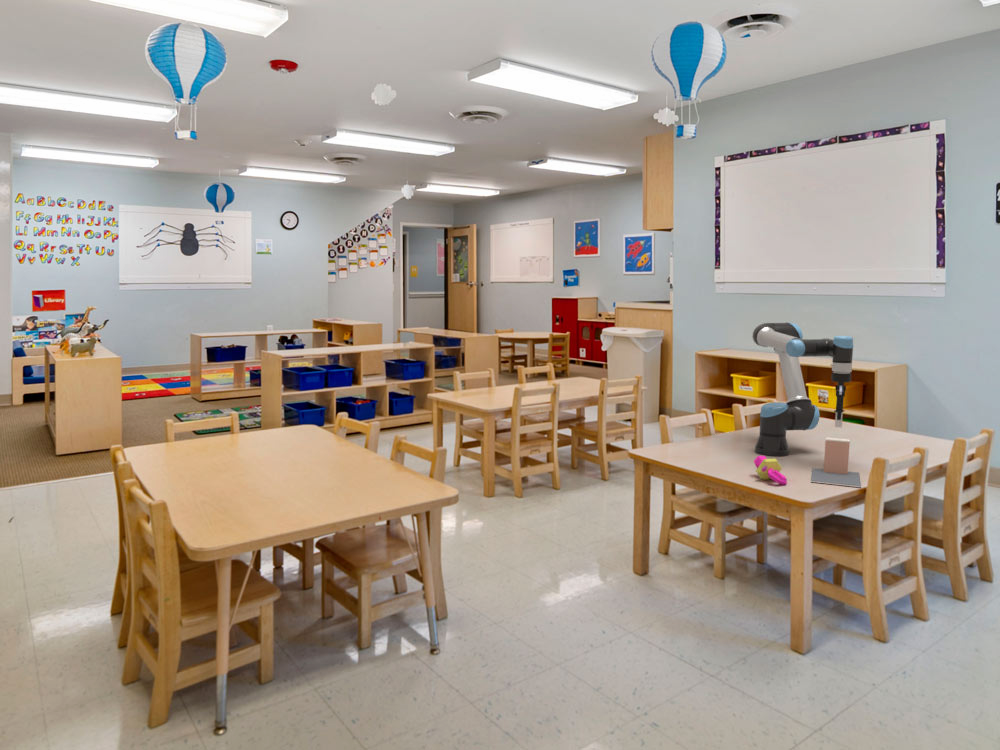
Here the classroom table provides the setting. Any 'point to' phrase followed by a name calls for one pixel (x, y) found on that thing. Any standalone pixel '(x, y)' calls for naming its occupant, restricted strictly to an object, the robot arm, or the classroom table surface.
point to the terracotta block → (836, 455)
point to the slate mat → (835, 478)
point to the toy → (769, 469)
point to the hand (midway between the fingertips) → (838, 426)
